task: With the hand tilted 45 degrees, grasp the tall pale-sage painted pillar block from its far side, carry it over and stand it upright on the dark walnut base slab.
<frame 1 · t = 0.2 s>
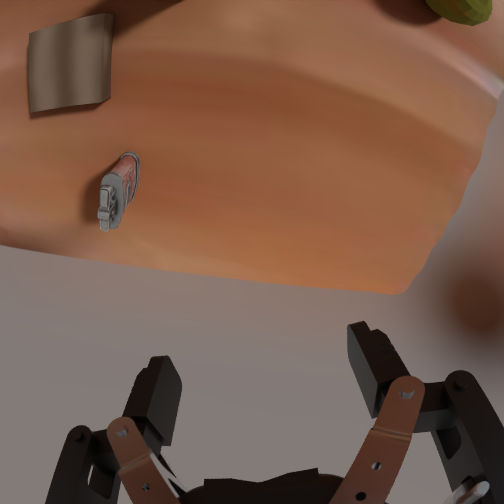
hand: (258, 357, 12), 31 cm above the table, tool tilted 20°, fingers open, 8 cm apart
walnut base: (72, 61, 25), on the table
lighter: (128, 176, 38), on the table
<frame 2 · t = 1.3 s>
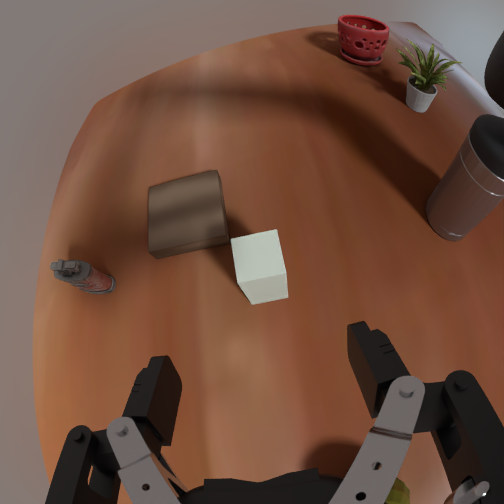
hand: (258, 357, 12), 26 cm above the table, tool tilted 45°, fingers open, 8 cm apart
walnut base: (189, 217, 46), on the table
sage pillar: (266, 283, 40), on the table
apple: (363, 491, 26), on the table
lighter: (98, 284, 44), on the table
house plant: (419, 104, 50), on the table
plant pot: (360, 58, 59), on the table
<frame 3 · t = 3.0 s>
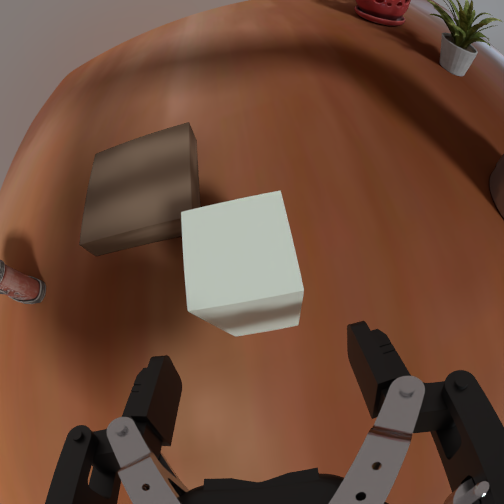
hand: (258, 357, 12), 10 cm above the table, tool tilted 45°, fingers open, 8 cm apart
walnut base: (145, 194, 29), on the table
sage pillar: (261, 300, 23), on the table
lighter: (28, 291, 27), on the table
house plant: (455, 68, 33), on the table
plant pot: (378, 19, 42), on the table
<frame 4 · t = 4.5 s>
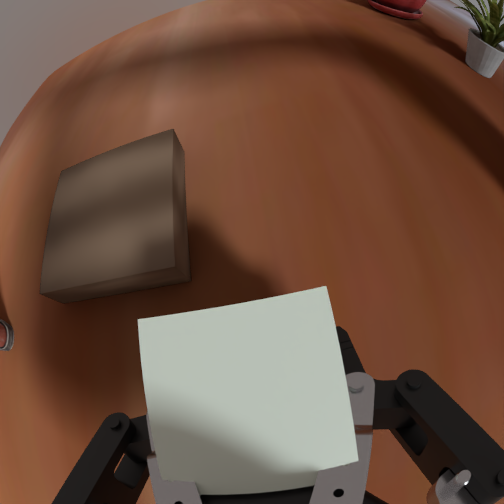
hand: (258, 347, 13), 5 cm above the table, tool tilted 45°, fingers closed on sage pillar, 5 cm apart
walnut base: (119, 224, 22), on the table
sage pillar: (271, 379, 16), on the table, touching gripper
house plant: (481, 68, 27), on the table
plant pot: (393, 11, 35), on the table
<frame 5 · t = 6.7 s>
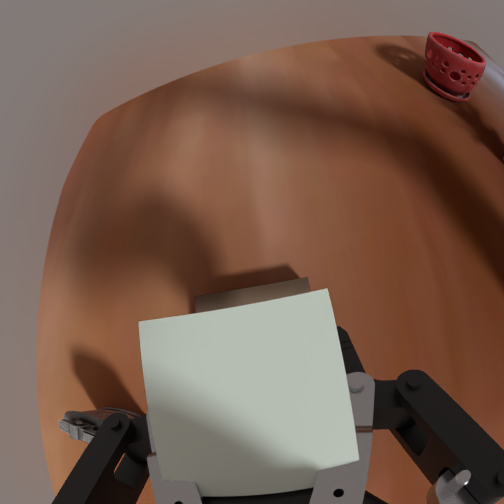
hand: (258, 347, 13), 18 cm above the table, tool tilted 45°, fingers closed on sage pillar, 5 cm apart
walnut base: (261, 346, 30), on the table
sage pillar: (272, 380, 16), point 14 cm above the table, touching gripper
lighter: (127, 421, 28), on the table
plant pot: (444, 88, 43), on the table
when the fingers open (9 cm above the table, at t = 9.1 s): sage pillar drops 1 cm, resting on walnut base.
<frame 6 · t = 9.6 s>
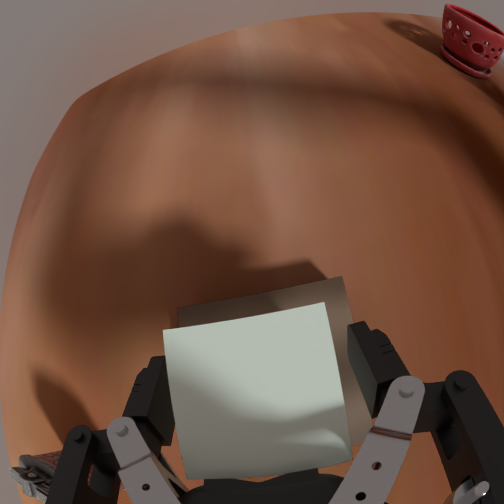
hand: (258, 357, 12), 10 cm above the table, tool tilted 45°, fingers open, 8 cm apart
walnut base: (275, 376, 20), on the table
sage pillar: (274, 379, 17), point 3 cm above the table, touching walnut base
lighter: (100, 466, 18), on the table
plant pot: (463, 64, 34), on the table
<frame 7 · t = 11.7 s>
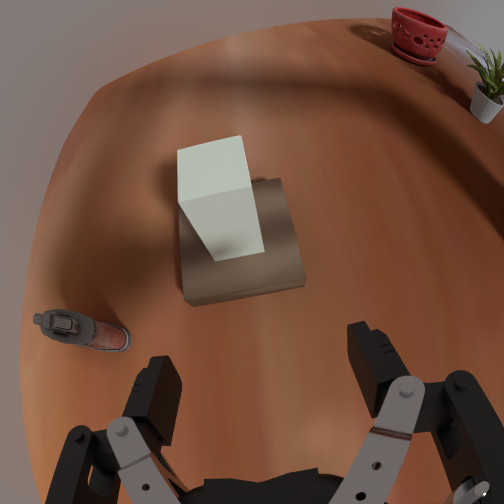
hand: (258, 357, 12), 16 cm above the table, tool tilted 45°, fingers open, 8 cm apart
walnut base: (239, 245, 32), on the table
sage pillar: (236, 234, 30), point 3 cm above the table, touching walnut base
lighter: (104, 337, 30), on the table
house plant: (481, 114, 38), on the table
plant pot: (412, 56, 47), on the table
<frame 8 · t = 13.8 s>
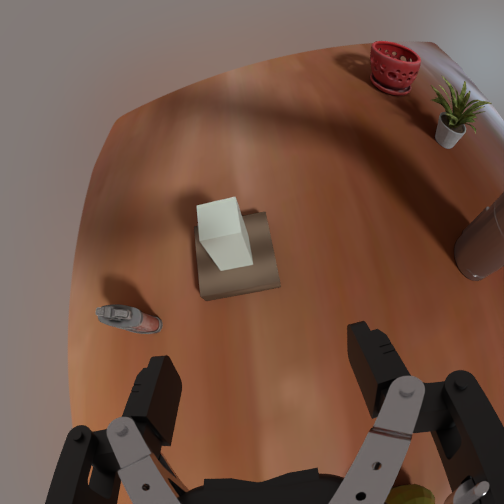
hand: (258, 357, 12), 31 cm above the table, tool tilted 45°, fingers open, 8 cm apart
walnut base: (237, 259, 47), on the table
sage pillar: (234, 252, 44), point 3 cm above the table, touching walnut base
apple: (393, 499, 28), on the table
lighter: (142, 324, 45), on the table
house plant: (446, 139, 52), on the table
plant pot: (389, 85, 60), on the table
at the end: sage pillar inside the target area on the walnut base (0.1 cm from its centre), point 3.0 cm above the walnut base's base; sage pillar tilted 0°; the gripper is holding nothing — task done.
